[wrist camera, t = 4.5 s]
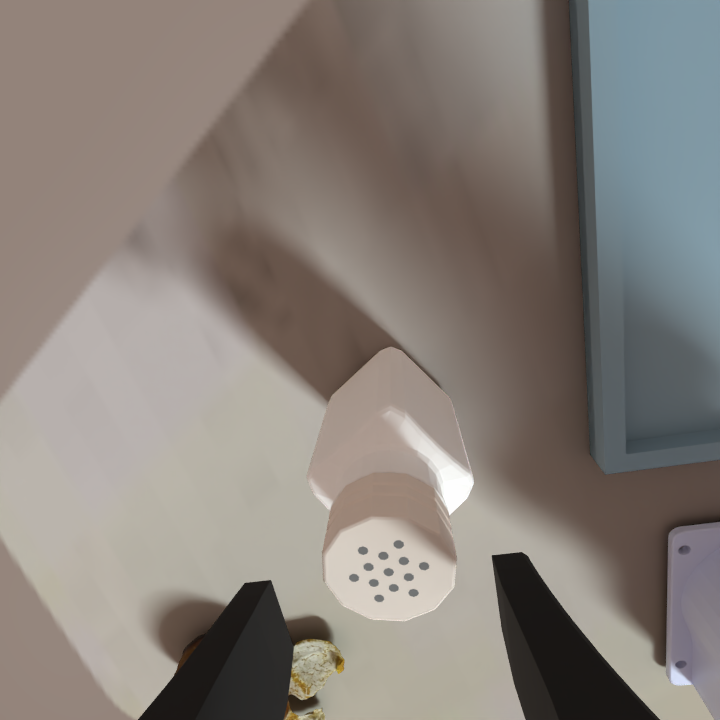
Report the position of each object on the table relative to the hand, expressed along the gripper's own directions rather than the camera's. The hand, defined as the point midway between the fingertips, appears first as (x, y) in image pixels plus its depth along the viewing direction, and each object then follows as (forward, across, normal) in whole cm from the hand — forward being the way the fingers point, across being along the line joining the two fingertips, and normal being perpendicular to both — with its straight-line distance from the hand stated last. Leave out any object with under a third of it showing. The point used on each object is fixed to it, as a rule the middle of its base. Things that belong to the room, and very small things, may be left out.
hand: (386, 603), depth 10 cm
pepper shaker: (+11, 0, 0) cm, 11 cm away
